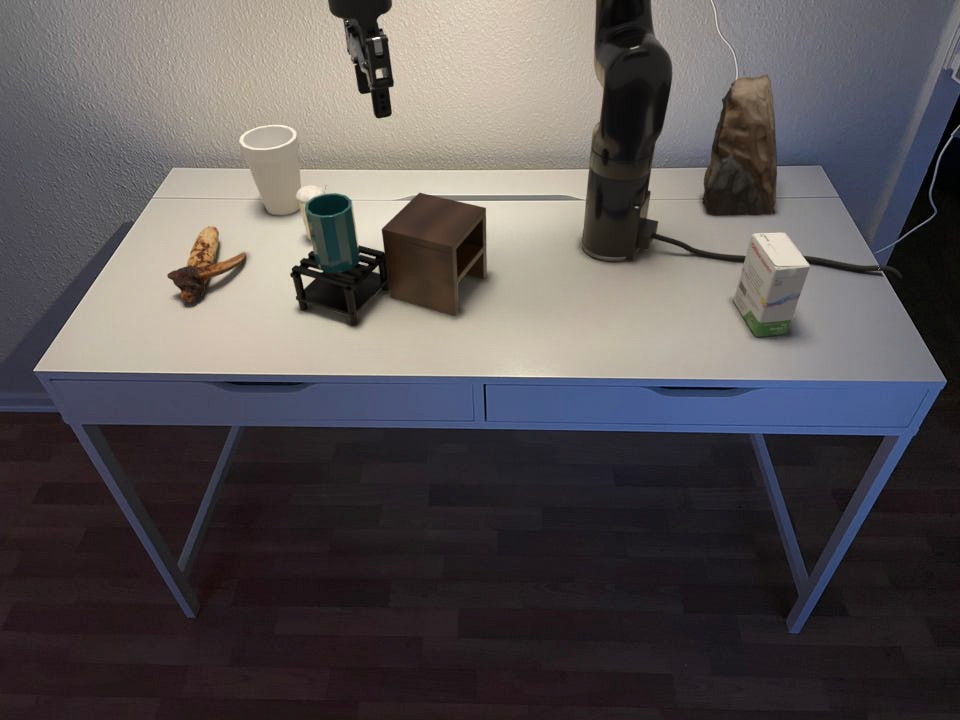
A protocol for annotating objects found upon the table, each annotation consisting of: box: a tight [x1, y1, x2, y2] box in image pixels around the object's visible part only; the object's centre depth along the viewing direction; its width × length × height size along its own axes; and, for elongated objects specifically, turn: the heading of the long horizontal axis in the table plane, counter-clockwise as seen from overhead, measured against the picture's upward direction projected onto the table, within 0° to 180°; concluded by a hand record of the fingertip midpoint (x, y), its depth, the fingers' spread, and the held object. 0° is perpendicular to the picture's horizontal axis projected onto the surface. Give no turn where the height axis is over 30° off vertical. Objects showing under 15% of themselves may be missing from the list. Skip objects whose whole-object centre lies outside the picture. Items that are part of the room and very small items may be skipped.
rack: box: [289, 244, 389, 327], centre depth 106 cm, size 10×10×7 cm
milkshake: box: [296, 184, 328, 242], centre depth 117 cm, size 4×5×10 cm
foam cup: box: [238, 124, 302, 216], centre depth 124 cm, size 10×9×13 cm
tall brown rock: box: [701, 73, 778, 216], centre depth 121 cm, size 13×13×20 cm
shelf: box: [381, 192, 488, 317], centre depth 106 cm, size 11×11×12 cm
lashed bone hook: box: [166, 226, 246, 303], centre depth 112 cm, size 9×5×18 cm
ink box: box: [732, 231, 811, 338], centre depth 99 cm, size 8×5×12 cm, turn 6°
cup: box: [305, 192, 361, 273], centre depth 100 cm, size 6×6×9 cm
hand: (374, 104), depth 94 cm, fingers open, 8 cm apart
